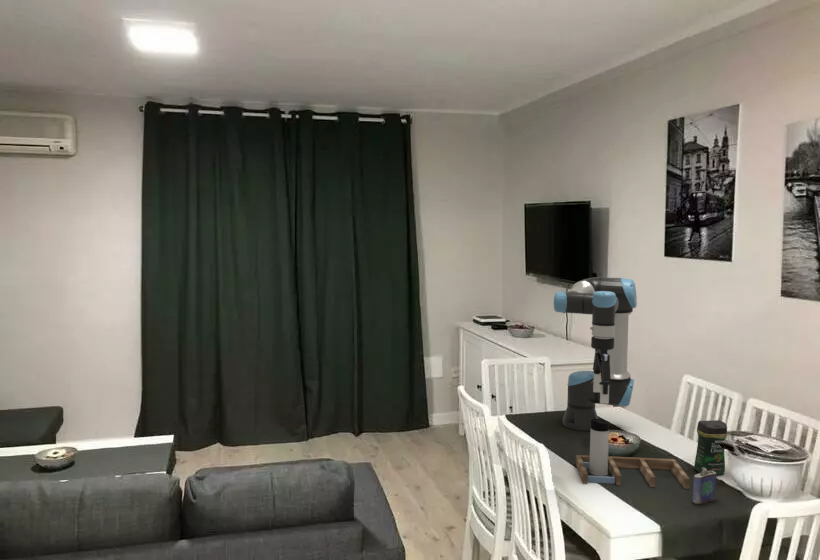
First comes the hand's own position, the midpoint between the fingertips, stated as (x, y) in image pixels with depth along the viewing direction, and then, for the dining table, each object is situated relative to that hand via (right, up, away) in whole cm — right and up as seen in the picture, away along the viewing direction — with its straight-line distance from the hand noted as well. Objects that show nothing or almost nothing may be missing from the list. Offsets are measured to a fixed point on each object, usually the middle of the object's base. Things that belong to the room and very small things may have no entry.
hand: (600, 397), depth 230 cm
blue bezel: (0, -28, +3) cm, 28 cm away
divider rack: (+11, -28, +2) cm, 30 cm away
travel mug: (0, -28, +3) cm, 28 cm away
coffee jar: (+40, -28, +6) cm, 49 cm away
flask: (+28, -30, -17) cm, 44 cm away
